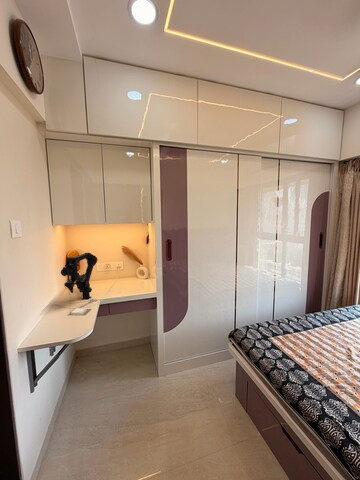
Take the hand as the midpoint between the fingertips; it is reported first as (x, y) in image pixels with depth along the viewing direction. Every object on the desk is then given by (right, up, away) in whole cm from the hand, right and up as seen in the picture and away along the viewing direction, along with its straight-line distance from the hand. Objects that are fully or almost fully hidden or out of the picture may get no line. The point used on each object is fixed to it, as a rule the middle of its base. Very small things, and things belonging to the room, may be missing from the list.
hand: (75, 290), depth 168 cm
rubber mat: (+10, -14, -12) cm, 21 cm away
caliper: (+6, -11, 0) cm, 13 cm away
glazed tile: (+10, -12, -10) cm, 18 cm away
